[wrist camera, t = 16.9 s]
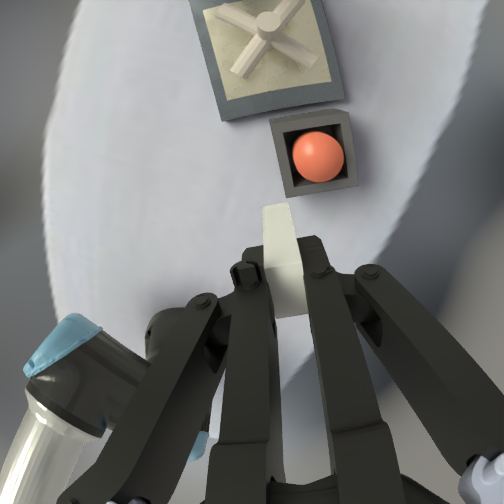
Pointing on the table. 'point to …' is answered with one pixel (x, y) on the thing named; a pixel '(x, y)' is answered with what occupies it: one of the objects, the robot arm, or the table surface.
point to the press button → (317, 156)
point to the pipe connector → (266, 35)
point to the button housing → (325, 121)
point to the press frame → (267, 60)
